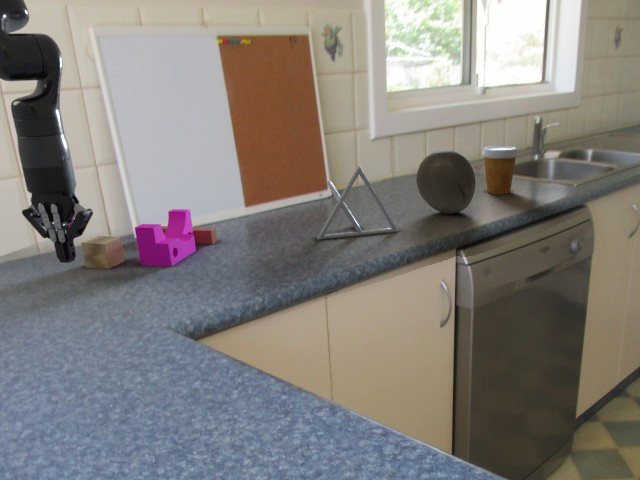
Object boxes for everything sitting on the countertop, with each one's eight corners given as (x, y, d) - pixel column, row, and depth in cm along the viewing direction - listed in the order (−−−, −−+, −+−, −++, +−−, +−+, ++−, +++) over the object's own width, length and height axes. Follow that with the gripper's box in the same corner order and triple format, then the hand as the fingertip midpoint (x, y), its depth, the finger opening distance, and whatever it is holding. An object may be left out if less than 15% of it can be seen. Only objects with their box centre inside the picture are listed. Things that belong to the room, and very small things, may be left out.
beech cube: (85, 268, 125) (80, 242, 123) (103, 260, 129) (98, 235, 128) (108, 269, 124) (104, 244, 122) (125, 261, 128) (121, 236, 127)
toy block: (171, 266, 125) (166, 228, 122) (141, 266, 126) (134, 227, 123) (206, 245, 138) (201, 209, 136) (178, 244, 139) (173, 209, 137)
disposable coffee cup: (517, 189, 186) (519, 145, 182) (514, 196, 178) (516, 150, 173) (483, 188, 188) (484, 145, 184) (479, 195, 180) (480, 150, 175)
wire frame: (326, 243, 156) (382, 207, 156) (338, 269, 145) (399, 231, 145) (284, 183, 145) (345, 145, 145) (295, 207, 135) (360, 166, 134)
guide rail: (143, 241, 142) (140, 227, 141) (148, 238, 144) (146, 225, 143) (212, 244, 138) (210, 230, 137) (217, 242, 140) (215, 228, 139)
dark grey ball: (476, 207, 166) (477, 146, 161) (472, 221, 153) (473, 155, 148) (421, 206, 168) (420, 146, 163) (412, 219, 155) (411, 155, 150)
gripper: (95, 159, 112) (113, 257, 118) (30, 158, 115) (51, 253, 122) (64, 166, 106) (85, 270, 112) (-4, 165, 109) (20, 265, 115)
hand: (67, 261), depth 117 cm, fingers closed
